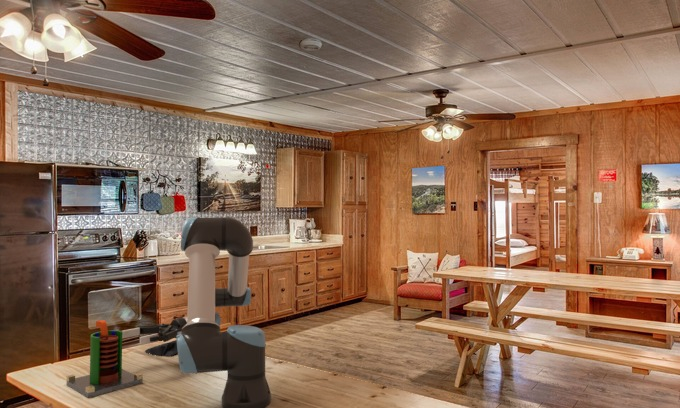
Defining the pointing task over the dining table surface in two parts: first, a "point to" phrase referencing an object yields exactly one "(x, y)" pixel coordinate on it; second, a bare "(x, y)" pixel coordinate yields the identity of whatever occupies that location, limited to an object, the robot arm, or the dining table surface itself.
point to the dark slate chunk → (164, 349)
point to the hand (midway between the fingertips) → (130, 337)
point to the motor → (105, 354)
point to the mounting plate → (103, 384)
